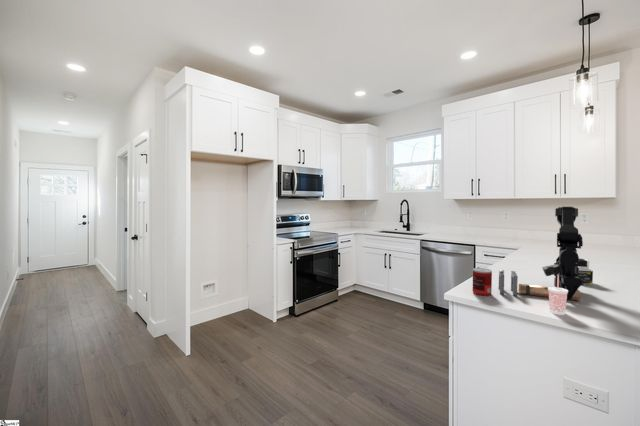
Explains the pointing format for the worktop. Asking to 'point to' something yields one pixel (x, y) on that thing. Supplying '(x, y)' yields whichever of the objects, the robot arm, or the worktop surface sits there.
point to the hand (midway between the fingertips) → (566, 296)
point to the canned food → (482, 281)
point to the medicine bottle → (585, 271)
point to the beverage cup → (557, 299)
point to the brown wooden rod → (541, 291)
